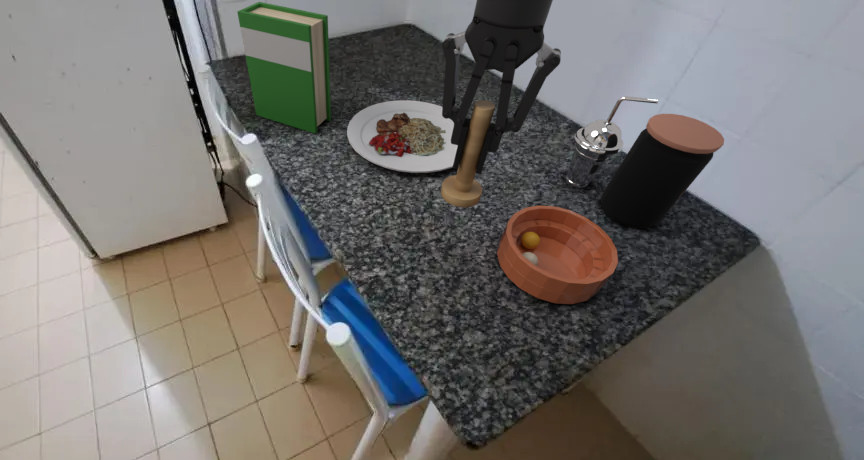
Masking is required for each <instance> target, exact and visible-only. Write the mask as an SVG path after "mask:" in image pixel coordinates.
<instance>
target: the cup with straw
mask: <svg viewBox="0 0 864 460" xmlns="http://www.w3.org/2000/svg"><path fill="white" fill-rule="evenodd" d="M624 101H627V102H637V103H647V104H656V105H658V103H659V99H658V98H647V97H640V96H639V97H638V96H628V95H624V96H621V97H619V98H618V99H617V101H616V103H615V104H614V106H613V108H612V109H611V111H610V114H609V115H608V117H607V119H598V120H594V121H591V122H589V123H588V124H586V125H585V126H584V127H581V128H579V129H578V130H577V131H576V132H575V134H574V140H575V147H574V152H573V154H572V157H571V160H570V163H569V166H568V169H567V170H566V176H565V177H564V180H565V182H566V183H567V184H568V185H570V186H571V187H574V188H578V189H584V188H587V187H588V186H589V184H590V183H591V182H592V180H593V179H594V178H595V177H596V175H597V174H598V173H599V171H600V170H601V169H602V168H603V166H605V164H606V162H608V161H609V160H610V159H611V157H612V158H613V155H616V154H619V153H620V152H621V151H622V150H623V147H624V140H623V139H622V138H623V133H622V130H621V128H620V126H618V124H617V123H615V122H613V119H614V117H615V115H616V113H617V111H618V109H619V108H620V106H621V104H622V103H623V102H624Z"/></svg>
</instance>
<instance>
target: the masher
mask: <svg viewBox="0 0 864 460" xmlns="http://www.w3.org/2000/svg"><path fill="white" fill-rule="evenodd" d="M495 109H496V105H495V103H494V102H493V101H490V100H485V99H479V100H476V101H475V102H474V104H473V107H472V111H471V116H470V118H469V119H470V123H469V128H468V132H467V136H466V139H465V143H464V147H463V151H462V155H461V159H460V163H459V166H458V169H457V171H456V174H454V175H450V176H447V177H446V178H444V180H443V181H442V185H441V189H440V195H441V197H442V199H443V200H444V201H445V202H446V203H448V204H450V205H451V206H453V207H458V208H471V207H474V206H476V205H477V204H478V203H479V202H480V201H481V197H482V194H483V187H482V184H481V183H480V182H479V181H478V180H476V179H475V177H476V174H477V173H476V170H477V166H478V163H479V159H480V156H481V153H482V149H483V146H484V143H485V139H486V136H487V132H488V129H489V126H490V123H492V120H493V115H494V113H495Z"/></svg>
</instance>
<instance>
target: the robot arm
mask: <svg viewBox="0 0 864 460" xmlns="http://www.w3.org/2000/svg"><path fill="white" fill-rule="evenodd" d="M553 1H554V0H476V2H475V7H474V12H473V15H472V16H473V17H472V20H471V22H470V23H469V24H468V25H467V27H466V29H465V31H461V32H459V33H456V34H455V33H453V32H450V33H448V34H447V35H446V37H445V38H444V40H443V42H442V44H441V49H442V52H443V56H444V59H445V67H444V68H445V69H444V81H443V82H444V83H443V96H442V107H443V108H442V116H443V117H444V118H446V119H448V118H449V119H451V120H452V121H453V122H454V127H453V132H452V136H451V144H454V145H458V147H457V151H456V155H455V159H454V163H453V167H452V168H453V169H456V170H458V167H459V163H460V159H461V155H462V151H463V147H464V143H465V139H466V136H467V132H468V128H469V123H470V119H471V118H468V117H467V116H468V113H469V111H470V109H471V106H472V103H473V101H474V98H475V96H476V94H477V91H478V88H479V86H480V83H481V80H482V78H483V76H484V74H485V71H492V70H495V71H497V72H499V73H502V76H501V83H500V91H499V97H498V103H497V109H496V116H495V121H494V122H495V123H493V122H491V123H490V126H489V129H488V132H487V136H486V139H485V143H484V146H483V149H482V153H481V156H480V159H479V163H478V166H477V170H476V174H479V175H482V172H483V169H484V165H485V163H486V159H487V156H488V153H492V154H496V153H497V151H498V150H499V147H500V144H501V141H502V138H503V135H504V134H505V133H507V132H512V133H518V132H520V131H521V129H522V127H523V126H524V125H523V124H524V122H525V121H526V119H527V117H528V115H529V113H530V110H531V109H532V107H533V105H534V103H535V100H536V99H537V97H538V95H539V93H540V92H541V89H542V87H543V85H544V83H545V81H546V79H547V78H548V76H550V74H551V73H552V72H553V71H554V70H556V68H557V67H558V66H559V65H560V64H561V58H562V52H561V49H560V48H557V47H556V48H555V47H554V48H552V47H551V46H550V45H548V44H547V43H546V42H545V32H544V28H545V24H546V22H547V19H548V16H549V13H550V10H551V7H552V3H553ZM465 44H467V46H468V49H469V51H470V53H471V55H472V58H473V60H474V62H475V66H474V68H473V71H472V74H471V77H470V79H469V82H468V84H467V87H466V90H465V92H464V95H463V98H462V100H461V103H460V105H459V107H457V106H456V98H457V89H458V79H459V78H458V77H459V68H460V56H461V54H462V53H463V50H464V48H465ZM536 54H537V57H536V60H535V66H536V67H535V69H534V72H533V73H532V76H531V78H530V80H529V82H528V84H527V86H526V88H525V91H524V92H523V94H522V97H521V99H520V101H519V103H518V105H517V107H516V109H515V111H514V114H513V116H509V117H508V114H509V108H510V102H511V97H512V90H513V85H514V79H515V73H516V70H518V68H520V67H521V66H522V65H523V64H524V63H526V62H527V61H528V60H529V59H530V58H532V57H533V56H534V55H536ZM452 168H451V169H452Z"/></svg>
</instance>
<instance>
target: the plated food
mask: <svg viewBox="0 0 864 460" xmlns="http://www.w3.org/2000/svg"><path fill="white" fill-rule="evenodd" d="M442 108H443V106H441V105H438V104H435V103H431V102H426V101H420V100H419V101H418V100H409V99H408V100H404V99H403V100H402V99H401V100H400V99H399V100H398V99H397V100H387V101H383V102H379V103H378V102H377V103H375V104H373V105H369V106H367V107H365V108H363V109H361V110H359V111H358V112H357V113H356V114H354V115H353V117H352V118H351V119H350V120H349V122H348V126H347V127H346V130H347V131H346V132H347V133H346V134H347V135H346V137H347V140H348V143H349V145H350V146H351V147H352V149H353V150H354V151H355V152H356V153H357V154H358V155H359V156H361V157H362V158H364V159H365V160H367V161H369V162H370V163H372V164H375V165H377V166H380V167H382V168H385V169H388V170H392V171H396V172H402V173H411V174H418V173H419V174H427V173H435V172H442V171H445V170H449V169H452V167H453V163H454V159H455V155H456V151H457V147H458V145H454V144H451V136H452V132H453V127H454V122H453V121H452V120H451V119H449V118H448V119H446V118H444V117H443V116H442Z"/></svg>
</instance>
